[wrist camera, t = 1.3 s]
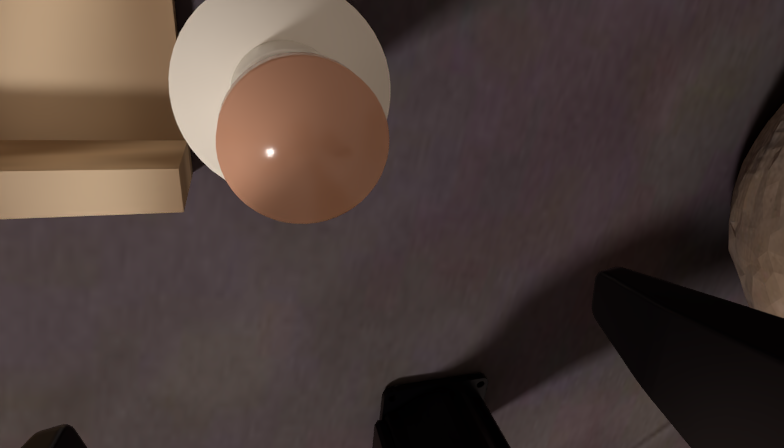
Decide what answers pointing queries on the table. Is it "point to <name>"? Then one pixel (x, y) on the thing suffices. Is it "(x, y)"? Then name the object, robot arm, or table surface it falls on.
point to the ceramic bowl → (761, 220)
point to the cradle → (89, 109)
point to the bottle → (284, 103)
